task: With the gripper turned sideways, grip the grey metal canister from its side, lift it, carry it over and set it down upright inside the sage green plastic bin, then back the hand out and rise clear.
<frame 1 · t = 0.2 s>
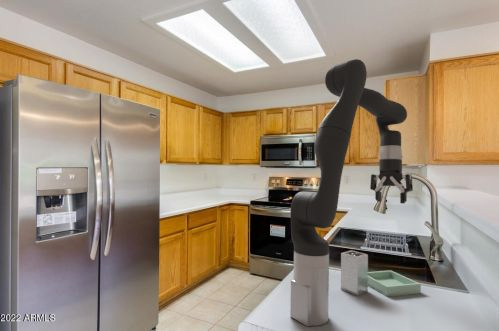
hand: (390, 202, 101), 28 cm above the countertop, tool pointing down, fingers open, 8 cm apart
canister: (354, 290, 90), on the countertop
bin: (389, 286, 94), on the countertop
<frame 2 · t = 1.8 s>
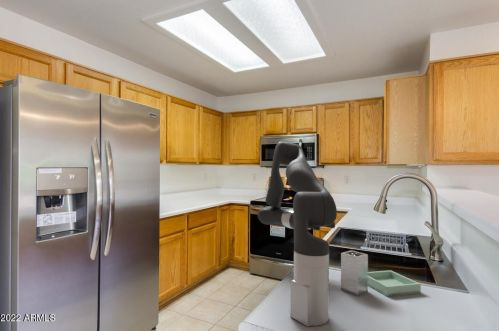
hand: (327, 226, 100), 19 cm above the countertop, tool horizontal, fingers open, 8 cm apart
nothing on the countertop moved.
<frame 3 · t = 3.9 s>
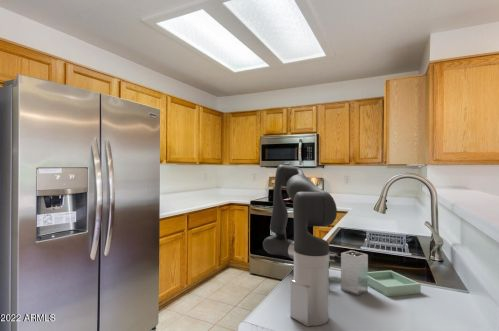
hand: (337, 263, 96), 7 cm above the countertop, tool horizontal, fingers open, 8 cm apart
nothing on the countertop moved.
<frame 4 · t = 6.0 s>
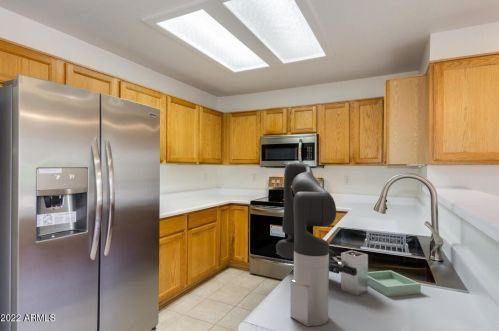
hand: (361, 270, 89), 7 cm above the countertop, tool horizontal, fingers closed on canister, 6 cm apart
canister: (354, 290, 90), on the countertop, touching gripper
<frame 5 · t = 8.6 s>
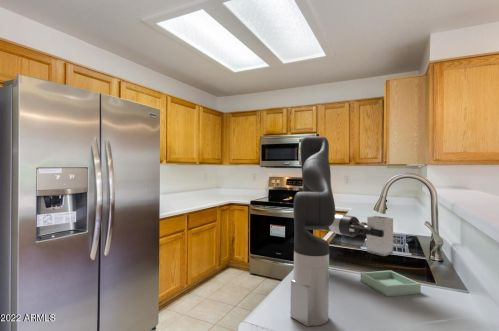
hand: (387, 232, 92), 19 cm above the countertop, tool horizontal, fingers closed on canister, 6 cm apart
canister: (379, 252, 94), point 12 cm above the countertop, touching gripper
when the fingers open (9 cm above the countertop, at t = 11.2 s): canister drops 1 cm, resting on bin.
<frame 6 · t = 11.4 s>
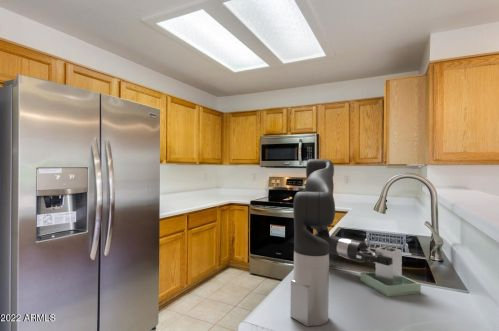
hand: (395, 260, 93), 9 cm above the countertop, tool horizontal, fingers open, 7 cm apart
canister: (388, 284, 94), point 1 cm above the countertop, touching bin
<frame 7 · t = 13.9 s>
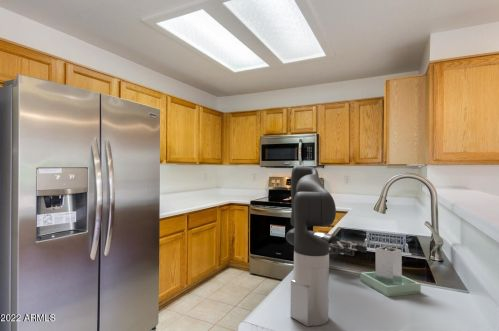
hand: (360, 251, 103), 10 cm above the countertop, tool horizontal, fingers open, 8 cm apart
nothing on the countertop moved.
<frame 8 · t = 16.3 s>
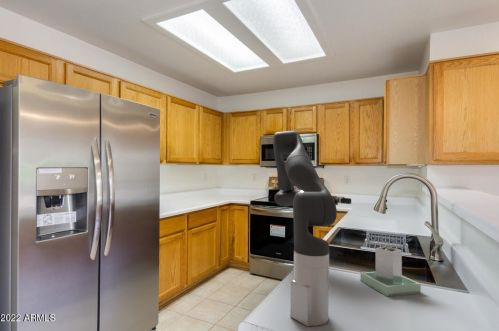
hand: (344, 201, 105), 28 cm above the countertop, tool horizontal, fingers open, 8 cm apart
nothing on the countertop moved.
at the end: canister 0.2 cm off-centre on the bin, point 0.8 cm above the bin's base; canister tilted 0°; the gripper is holding nothing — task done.
